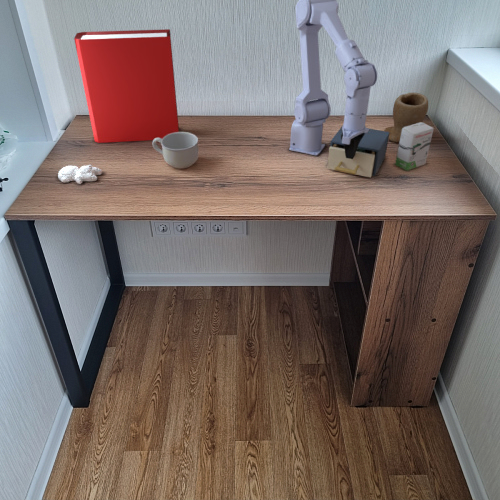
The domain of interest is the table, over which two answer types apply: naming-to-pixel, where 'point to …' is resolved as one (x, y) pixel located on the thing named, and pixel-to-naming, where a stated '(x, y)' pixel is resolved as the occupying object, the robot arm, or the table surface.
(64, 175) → the white plush toy
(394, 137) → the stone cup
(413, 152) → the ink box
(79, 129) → the table surface
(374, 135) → the cabinet
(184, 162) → the teacup
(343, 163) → the drawer
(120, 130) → the book
